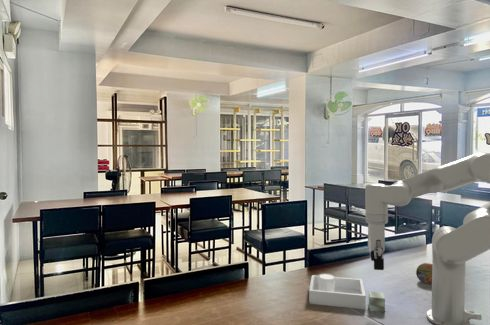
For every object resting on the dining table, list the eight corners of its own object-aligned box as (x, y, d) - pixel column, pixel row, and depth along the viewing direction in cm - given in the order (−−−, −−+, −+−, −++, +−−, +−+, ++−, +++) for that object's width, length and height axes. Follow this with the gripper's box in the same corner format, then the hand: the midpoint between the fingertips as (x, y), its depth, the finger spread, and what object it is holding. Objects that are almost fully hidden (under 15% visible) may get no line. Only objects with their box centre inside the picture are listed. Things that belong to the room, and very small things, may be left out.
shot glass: (336, 298, 132) (336, 280, 132) (317, 297, 133) (317, 279, 133) (335, 290, 139) (335, 273, 138) (317, 289, 140) (317, 272, 140)
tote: (361, 291, 140) (362, 279, 140) (365, 309, 125) (365, 295, 124) (311, 286, 145) (311, 275, 145) (309, 303, 130) (309, 290, 129)
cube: (383, 306, 127) (383, 292, 127) (384, 312, 123) (384, 298, 122) (368, 304, 129) (368, 291, 128) (369, 310, 124) (370, 297, 124)
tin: (416, 282, 149) (416, 262, 149) (416, 279, 152) (416, 260, 151) (456, 288, 142) (457, 268, 142) (456, 285, 145) (456, 266, 144)
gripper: (363, 213, 133) (364, 257, 134) (367, 222, 117) (368, 272, 117) (384, 213, 132) (384, 258, 132) (391, 223, 115) (392, 274, 116)
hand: (377, 264), depth 125 cm, fingers open, 9 cm apart
